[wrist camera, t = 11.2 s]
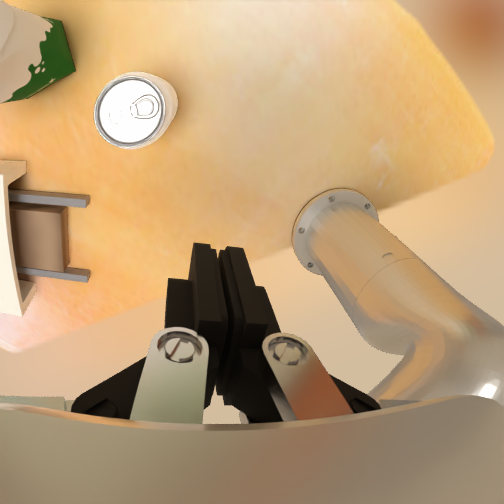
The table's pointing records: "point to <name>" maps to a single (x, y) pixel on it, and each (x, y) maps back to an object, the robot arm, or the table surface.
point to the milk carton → (30, 53)
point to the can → (135, 109)
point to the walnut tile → (39, 235)
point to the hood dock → (3, 262)
